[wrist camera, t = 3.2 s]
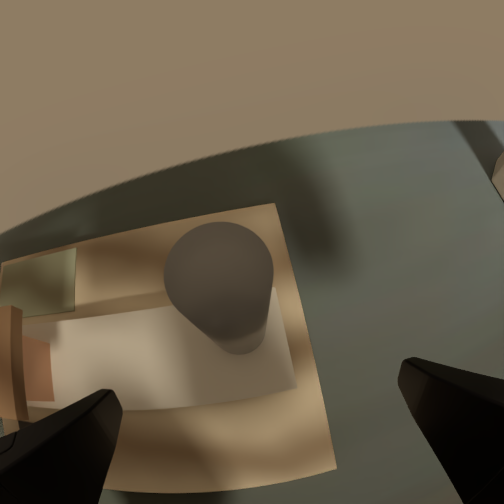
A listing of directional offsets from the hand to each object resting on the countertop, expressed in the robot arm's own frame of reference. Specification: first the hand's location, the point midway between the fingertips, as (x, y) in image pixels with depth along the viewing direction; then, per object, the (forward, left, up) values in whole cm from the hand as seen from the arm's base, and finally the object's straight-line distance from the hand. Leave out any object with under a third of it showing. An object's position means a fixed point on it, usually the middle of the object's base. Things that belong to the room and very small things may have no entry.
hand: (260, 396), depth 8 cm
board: (-2, +9, -10) cm, 14 cm away
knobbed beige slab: (-2, +8, -9) cm, 12 cm away
